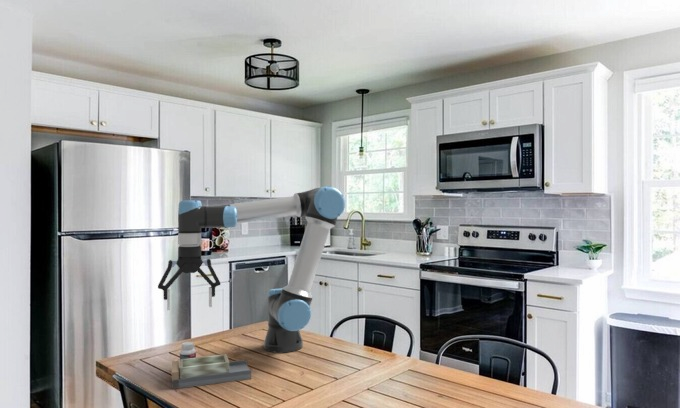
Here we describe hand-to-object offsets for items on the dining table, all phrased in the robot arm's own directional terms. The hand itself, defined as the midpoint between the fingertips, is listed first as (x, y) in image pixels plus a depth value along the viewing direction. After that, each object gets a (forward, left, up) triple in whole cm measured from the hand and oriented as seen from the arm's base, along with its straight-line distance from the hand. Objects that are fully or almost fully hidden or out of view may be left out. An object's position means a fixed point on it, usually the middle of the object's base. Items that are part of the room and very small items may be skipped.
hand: (189, 307), depth 160 cm
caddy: (-4, +10, -19) cm, 22 cm away
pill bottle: (+1, -1, -21) cm, 21 cm away
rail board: (-6, +10, -21) cm, 24 cm away
